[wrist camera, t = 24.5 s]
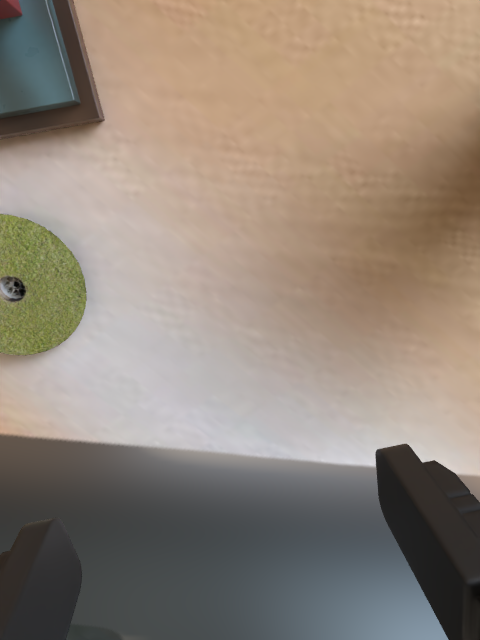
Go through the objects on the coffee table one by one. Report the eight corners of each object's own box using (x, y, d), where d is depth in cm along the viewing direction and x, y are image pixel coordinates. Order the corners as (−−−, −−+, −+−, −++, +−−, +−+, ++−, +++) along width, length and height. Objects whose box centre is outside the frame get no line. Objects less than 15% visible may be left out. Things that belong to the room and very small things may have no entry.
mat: (-67, 208, 31) (-84, 210, 29) (87, 215, 32) (80, 217, 30) (-42, 345, 35) (-55, 354, 33) (95, 346, 36) (90, 356, 34)
